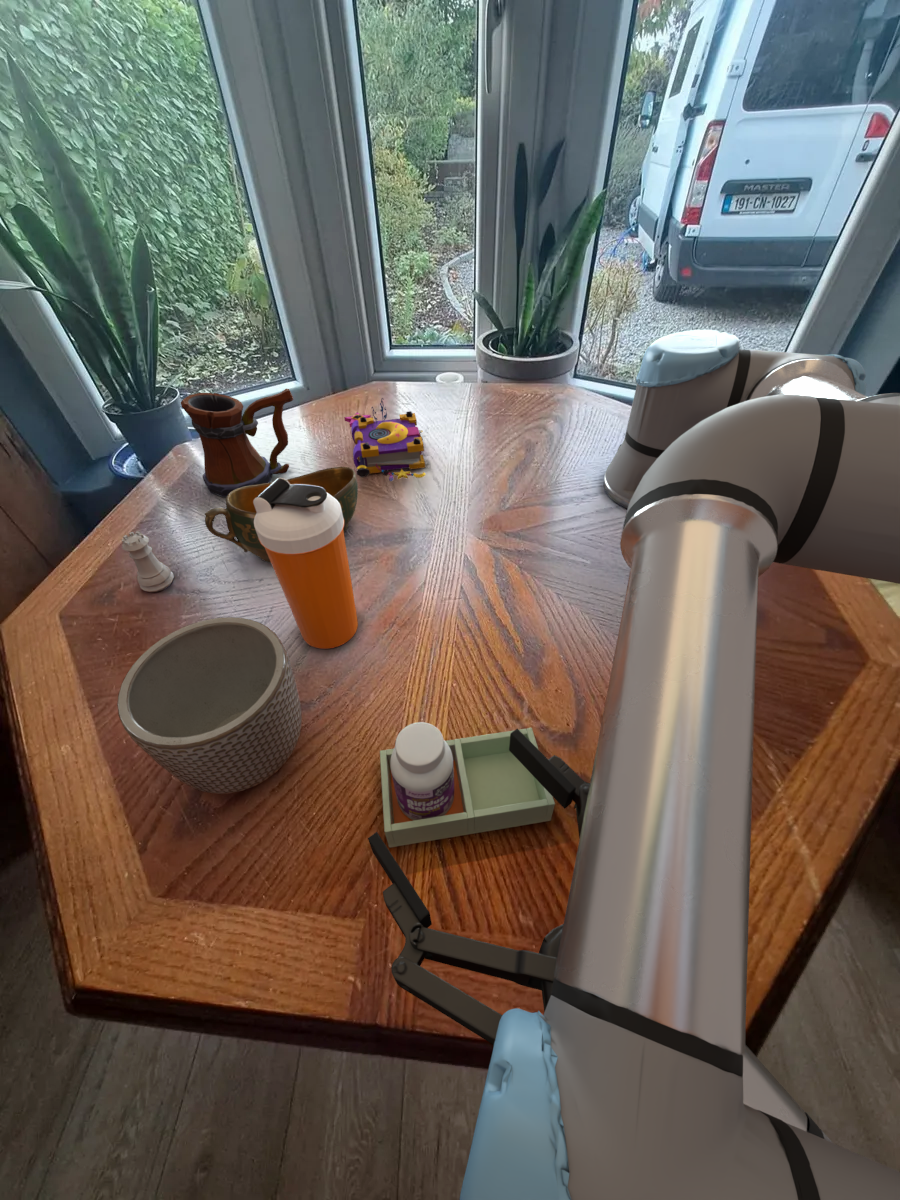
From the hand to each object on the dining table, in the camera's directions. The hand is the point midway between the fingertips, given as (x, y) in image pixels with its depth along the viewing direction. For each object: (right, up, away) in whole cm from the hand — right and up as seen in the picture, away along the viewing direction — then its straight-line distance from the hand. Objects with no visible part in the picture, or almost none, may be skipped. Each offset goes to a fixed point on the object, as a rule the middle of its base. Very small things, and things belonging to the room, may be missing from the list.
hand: (448, 786), depth 41 cm
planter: (-20, -1, +13) cm, 24 cm away
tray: (+2, -4, +9) cm, 10 cm away
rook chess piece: (-41, +17, +32) cm, 54 cm away
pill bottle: (-2, -4, +8) cm, 9 cm away
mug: (-34, +36, +51) cm, 71 cm away
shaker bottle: (-15, +11, +25) cm, 31 cm away
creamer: (-23, +24, +38) cm, 50 cm away
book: (-11, +42, +56) cm, 71 cm away
